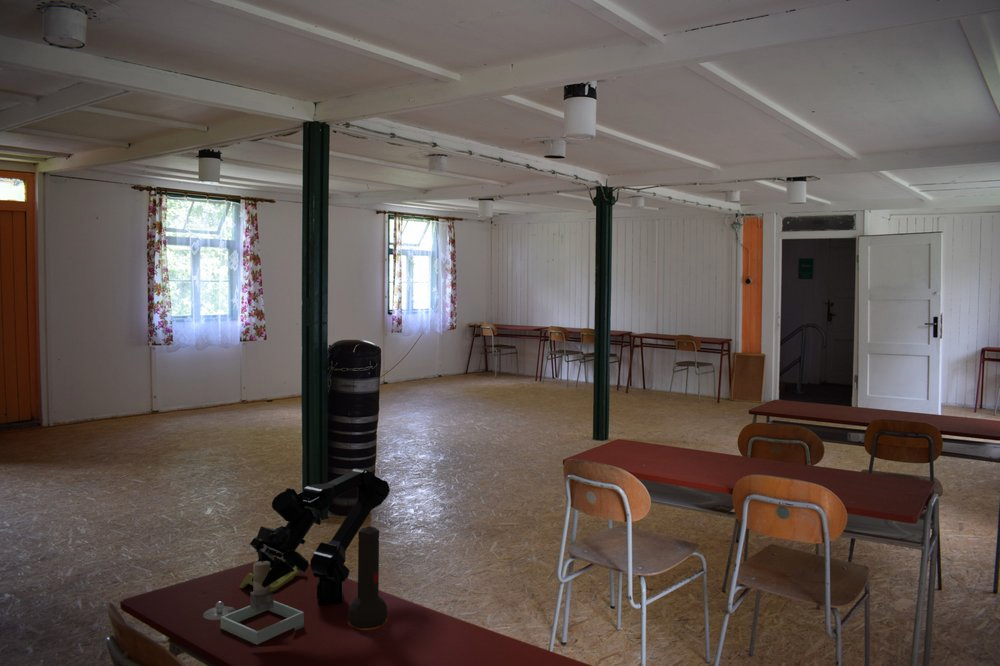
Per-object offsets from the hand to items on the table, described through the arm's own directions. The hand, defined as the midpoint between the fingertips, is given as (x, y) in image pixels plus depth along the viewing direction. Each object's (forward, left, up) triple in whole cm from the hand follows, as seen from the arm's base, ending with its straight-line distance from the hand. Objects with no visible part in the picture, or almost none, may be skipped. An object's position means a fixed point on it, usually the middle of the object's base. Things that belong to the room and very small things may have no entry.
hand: (258, 584), depth 180 cm
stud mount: (+11, -10, -12) cm, 19 cm away
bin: (-1, -1, -12) cm, 12 cm away
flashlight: (-27, -2, -12) cm, 30 cm away
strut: (-1, -1, -6) cm, 6 cm away
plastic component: (-1, -32, -12) cm, 34 cm away
